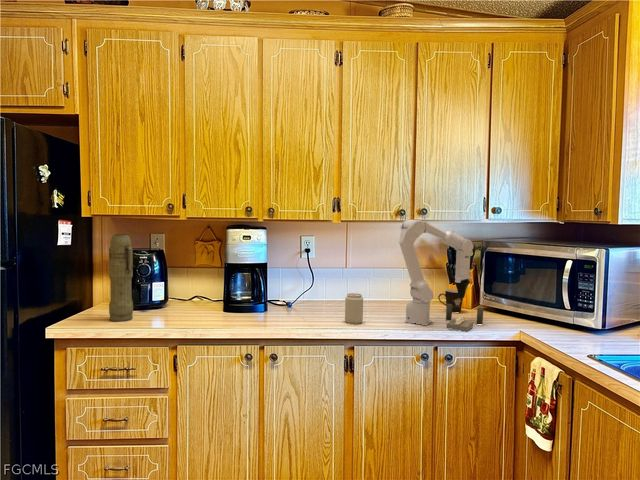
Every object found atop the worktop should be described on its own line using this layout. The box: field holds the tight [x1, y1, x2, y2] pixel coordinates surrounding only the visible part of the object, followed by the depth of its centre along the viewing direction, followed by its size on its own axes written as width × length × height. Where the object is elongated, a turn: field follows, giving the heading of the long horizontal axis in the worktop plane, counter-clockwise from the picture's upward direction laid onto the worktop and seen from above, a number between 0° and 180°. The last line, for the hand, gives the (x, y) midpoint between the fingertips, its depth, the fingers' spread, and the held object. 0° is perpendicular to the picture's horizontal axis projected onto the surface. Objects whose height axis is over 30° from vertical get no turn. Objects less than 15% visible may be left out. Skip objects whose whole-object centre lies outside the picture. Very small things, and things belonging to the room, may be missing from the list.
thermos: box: [108, 233, 134, 323], centre depth 180 cm, size 9×12×35 cm
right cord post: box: [476, 307, 484, 325], centre depth 185 cm, size 2×2×7 cm
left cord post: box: [445, 304, 453, 321], centre depth 192 cm, size 2×2×7 cm
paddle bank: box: [455, 315, 466, 325], centre depth 179 cm, size 2×9×2 cm, turn 147°
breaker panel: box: [446, 318, 474, 333], centre depth 180 cm, size 8×10×2 cm
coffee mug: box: [438, 288, 464, 312], centre depth 209 cm, size 12×9×10 cm
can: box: [344, 292, 364, 325], centre depth 184 cm, size 8×8×12 cm
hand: (461, 297), depth 191 cm, fingers closed
